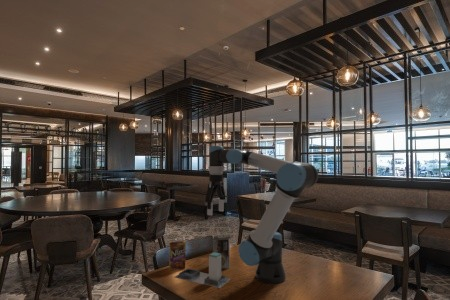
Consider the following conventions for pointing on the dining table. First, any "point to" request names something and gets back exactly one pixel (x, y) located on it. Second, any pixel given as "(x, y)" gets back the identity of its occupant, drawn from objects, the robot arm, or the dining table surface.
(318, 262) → the dining table surface
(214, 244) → the coffee box
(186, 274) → the panel
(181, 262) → the candy box
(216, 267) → the white rectangular bottle
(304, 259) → the dining table surface
